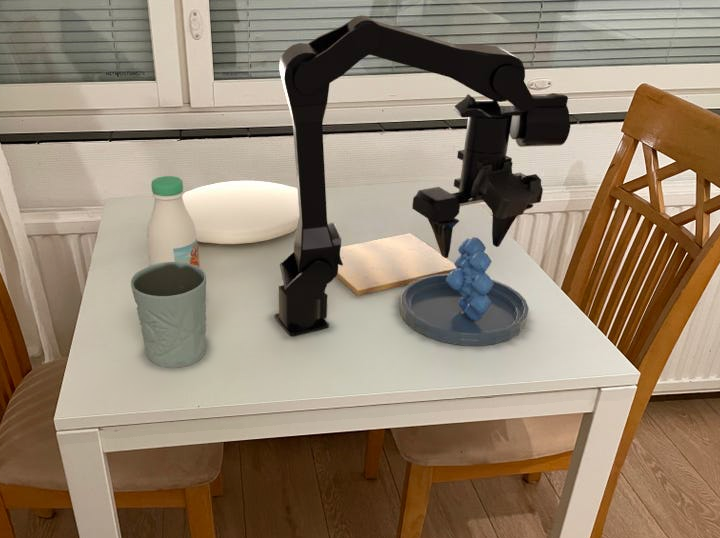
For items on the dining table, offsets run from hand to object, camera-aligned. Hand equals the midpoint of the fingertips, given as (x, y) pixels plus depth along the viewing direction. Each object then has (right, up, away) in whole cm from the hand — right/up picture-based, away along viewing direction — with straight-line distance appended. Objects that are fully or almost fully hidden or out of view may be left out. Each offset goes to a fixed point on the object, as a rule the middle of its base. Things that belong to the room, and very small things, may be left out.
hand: (470, 251), depth 112 cm
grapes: (0, -9, +6) cm, 11 cm away
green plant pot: (-43, -15, -3) cm, 46 cm away
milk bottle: (-45, -7, +10) cm, 47 cm away
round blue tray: (0, -9, +6) cm, 11 cm away
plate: (-37, +10, +35) cm, 52 cm away
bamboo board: (-10, +1, +20) cm, 23 cm away
